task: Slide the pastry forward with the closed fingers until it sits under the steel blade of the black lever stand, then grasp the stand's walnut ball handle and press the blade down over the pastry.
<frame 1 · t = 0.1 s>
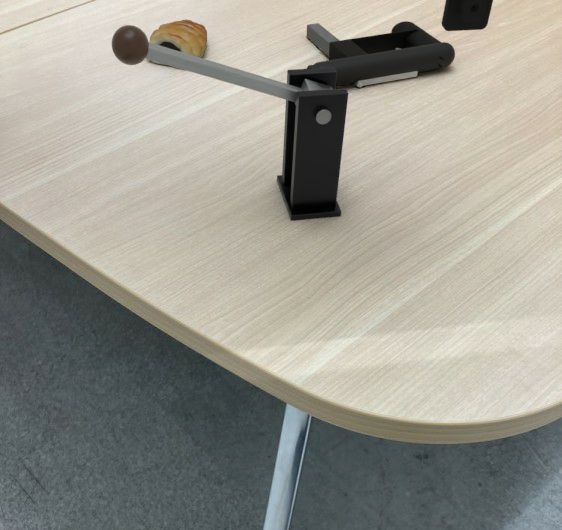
pastry: (179, 55, 100), on the table
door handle: (361, 60, 101), on the table
black lever stand: (307, 202, 79), on the table
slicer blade: (227, 74, 67), point 14 cm above the table, hinge at 20.0°
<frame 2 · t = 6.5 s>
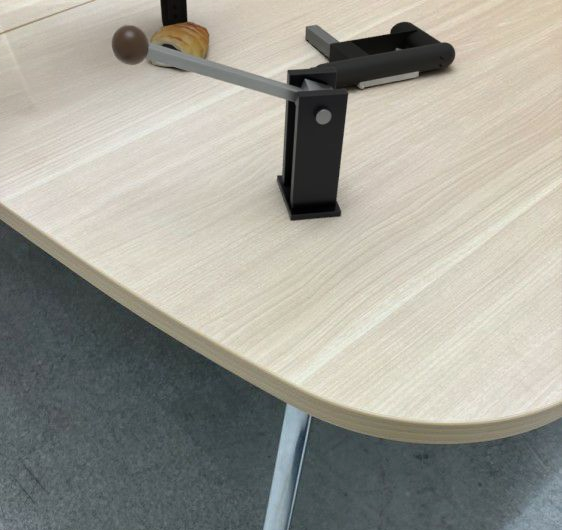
hand: (174, 25, 103), 1 cm above the table, tool pointing down, fingers closed
pastry: (180, 57, 100), on the table, touching gripper
everything else where it was.
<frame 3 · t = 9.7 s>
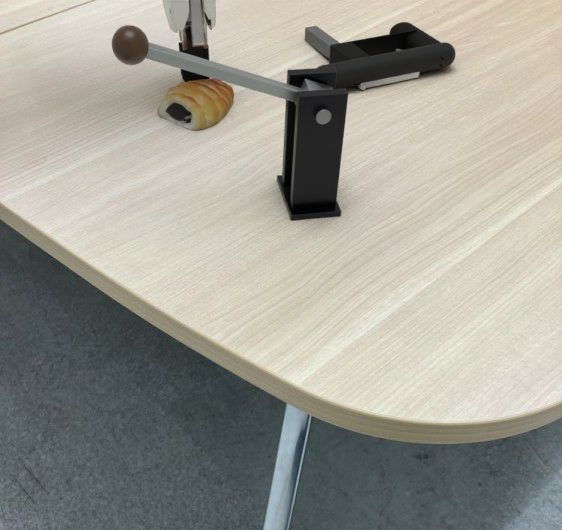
hand: (195, 77, 92), 2 cm above the table, tool pointing down, fingers closed
pastry: (197, 117, 90), on the table, touching gripper
everything else where it was.
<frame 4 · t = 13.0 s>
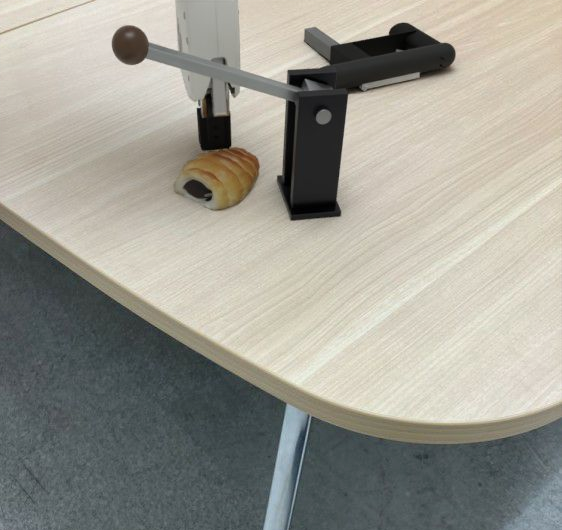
hand: (215, 145, 82), 2 cm above the table, tool pointing down, fingers closed
pastry: (218, 191, 80), on the table, touching gripper
everything else where it was.
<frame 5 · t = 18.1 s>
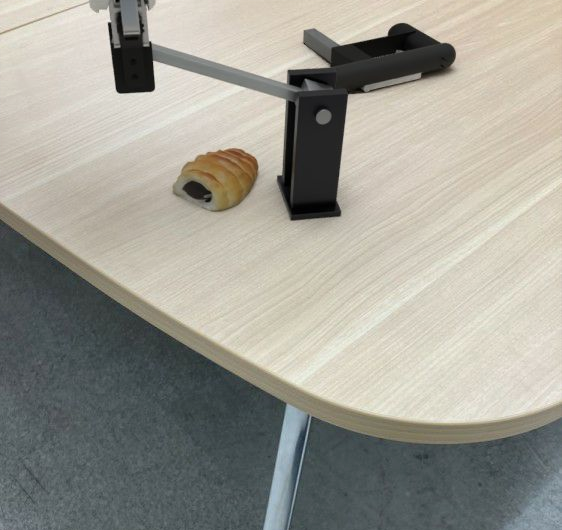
hand: (133, 78, 66), 14 cm above the table, tool pointing down, fingers closed on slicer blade, 3 cm apart
pastry: (217, 192, 80), on the table
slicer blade: (227, 74, 67), point 14 cm above the table, hinge at 20.0°, touching gripper
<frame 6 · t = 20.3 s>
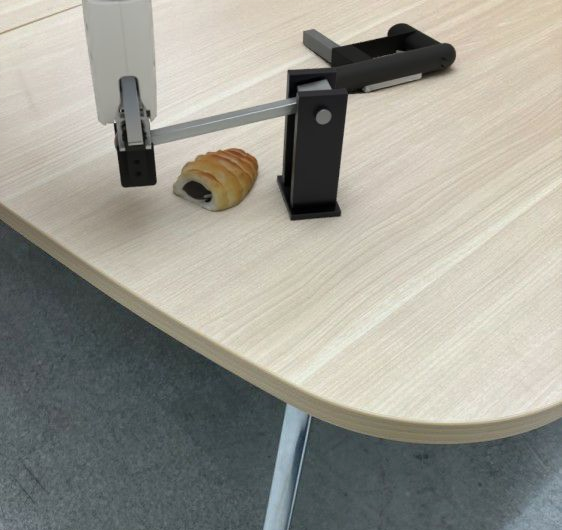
hand: (137, 171, 72), 5 cm above the table, tool pointing down, fingers closed on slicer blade, 3 cm apart
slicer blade: (223, 121, 71), point 10 cm above the table, hinge at -10.1°, touching gripper
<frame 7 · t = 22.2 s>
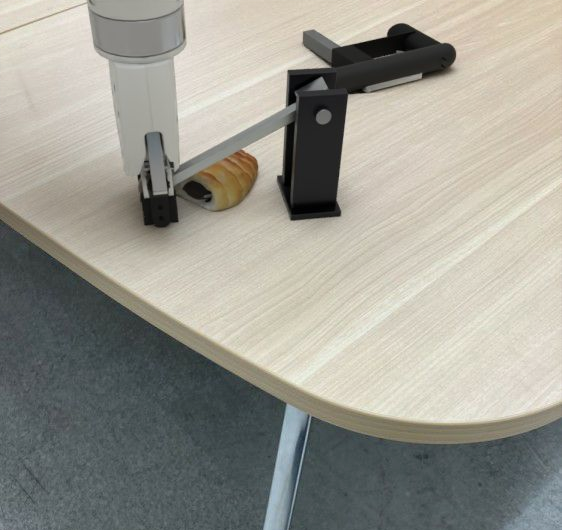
hand: (159, 214, 76), 0 cm above the table, tool pointing down, fingers closed on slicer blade, 3 cm apart
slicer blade: (232, 145, 72), point 7 cm above the table, hinge at -27.4°, touching gripper
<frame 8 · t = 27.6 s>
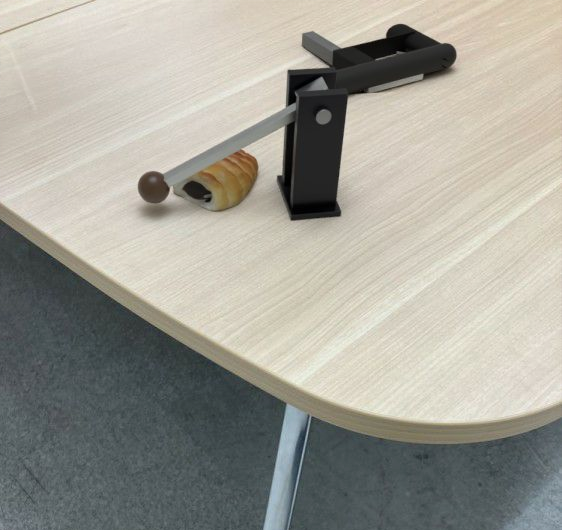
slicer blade: (232, 145, 72), point 7 cm above the table, hinge at -27.2°
at the end: pastry inside the target area on the table beside the black lever stand (0.8 cm from its centre), on the table; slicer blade at -27° (first picture: +20°) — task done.
